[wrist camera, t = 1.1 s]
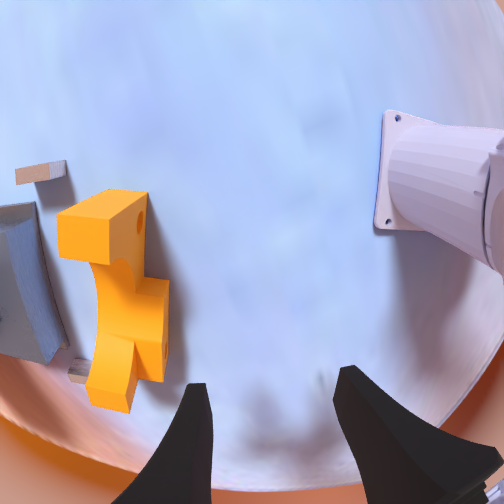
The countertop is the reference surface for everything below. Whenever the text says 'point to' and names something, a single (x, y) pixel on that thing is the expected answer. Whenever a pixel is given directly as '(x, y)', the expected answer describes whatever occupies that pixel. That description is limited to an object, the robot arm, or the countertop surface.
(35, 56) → the countertop surface
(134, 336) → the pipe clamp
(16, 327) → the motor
